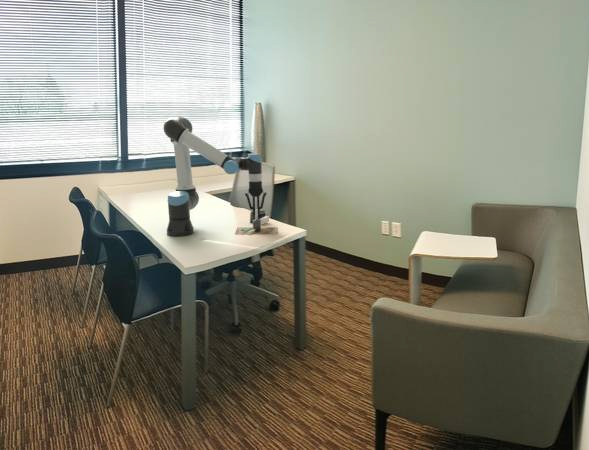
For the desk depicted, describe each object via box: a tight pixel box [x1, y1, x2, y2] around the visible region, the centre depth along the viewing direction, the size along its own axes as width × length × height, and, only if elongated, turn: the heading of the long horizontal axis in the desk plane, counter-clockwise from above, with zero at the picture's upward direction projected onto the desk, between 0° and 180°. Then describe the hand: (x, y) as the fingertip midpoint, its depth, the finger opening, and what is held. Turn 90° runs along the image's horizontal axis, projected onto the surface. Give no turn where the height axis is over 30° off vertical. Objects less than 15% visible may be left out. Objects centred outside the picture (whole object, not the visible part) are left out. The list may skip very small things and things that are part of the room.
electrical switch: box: [249, 209, 266, 224], centre depth 298 cm, size 9×5×9 cm, turn 113°
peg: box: [247, 215, 270, 233], centre depth 280 cm, size 22×4×6 cm, turn 152°
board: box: [234, 226, 279, 236], centre depth 280 cm, size 24×16×2 cm, turn 92°
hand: (256, 220), depth 287 cm, fingers closed
